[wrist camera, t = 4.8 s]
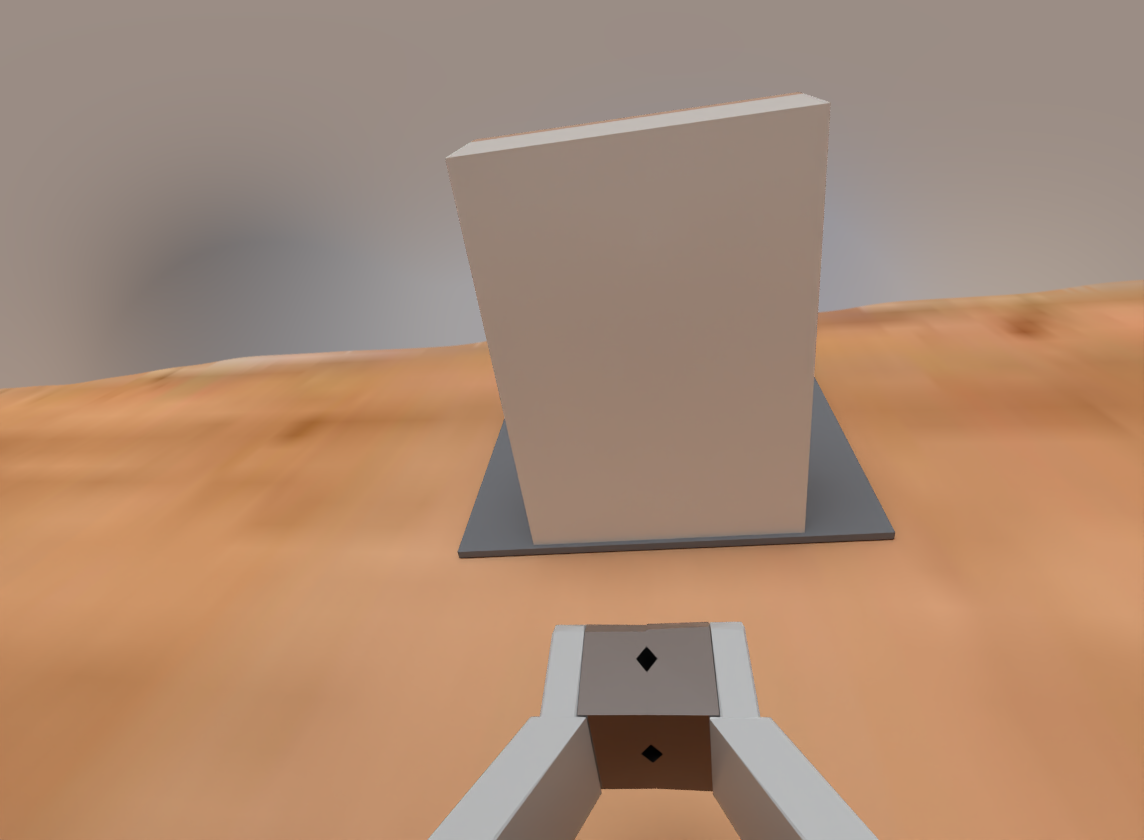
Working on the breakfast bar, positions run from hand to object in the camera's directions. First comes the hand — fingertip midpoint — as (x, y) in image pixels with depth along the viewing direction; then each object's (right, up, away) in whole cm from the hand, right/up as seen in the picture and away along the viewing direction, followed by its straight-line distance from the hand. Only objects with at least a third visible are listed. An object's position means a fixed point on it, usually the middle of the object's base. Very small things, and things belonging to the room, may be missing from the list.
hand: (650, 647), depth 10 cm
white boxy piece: (+2, 0, +15) cm, 15 cm away
